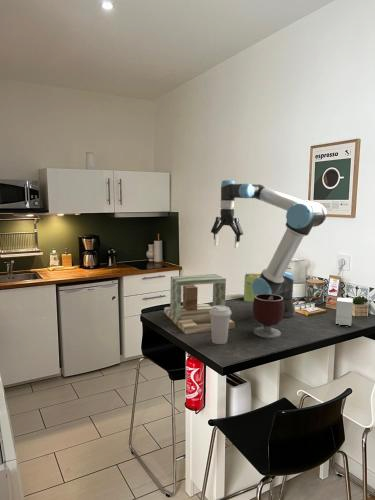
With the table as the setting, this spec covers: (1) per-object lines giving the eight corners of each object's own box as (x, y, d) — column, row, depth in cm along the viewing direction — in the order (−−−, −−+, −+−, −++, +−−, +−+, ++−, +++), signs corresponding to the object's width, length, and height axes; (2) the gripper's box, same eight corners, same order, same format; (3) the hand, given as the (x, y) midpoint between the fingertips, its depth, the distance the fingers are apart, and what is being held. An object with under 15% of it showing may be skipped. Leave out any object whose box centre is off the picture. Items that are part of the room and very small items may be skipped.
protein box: (269, 303, 232) (270, 277, 229) (243, 301, 235) (244, 276, 233) (269, 298, 242) (270, 274, 240) (244, 296, 245) (245, 272, 243)
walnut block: (197, 309, 205) (197, 287, 203) (186, 310, 203) (186, 288, 201) (193, 306, 211) (193, 284, 209) (182, 307, 209) (183, 285, 207)
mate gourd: (250, 327, 187) (251, 287, 184) (279, 328, 187) (281, 287, 184) (254, 339, 172) (256, 295, 169) (286, 340, 171) (288, 296, 168)
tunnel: (234, 328, 185) (235, 283, 182) (185, 333, 177) (186, 286, 174) (207, 308, 217) (207, 270, 214) (164, 312, 209) (164, 272, 206)
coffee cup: (207, 337, 173) (207, 305, 171) (228, 337, 173) (229, 304, 171) (210, 345, 163) (211, 311, 161) (232, 345, 164) (233, 311, 162)
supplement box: (351, 323, 196) (353, 298, 195) (351, 327, 190) (352, 302, 188) (336, 320, 199) (337, 296, 198) (335, 325, 193) (336, 300, 191)
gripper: (250, 209, 210) (248, 248, 212) (213, 207, 225) (212, 244, 228) (242, 209, 204) (241, 249, 207) (205, 208, 220) (204, 245, 223)
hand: (226, 246), depth 218 cm, fingers open, 13 cm apart
